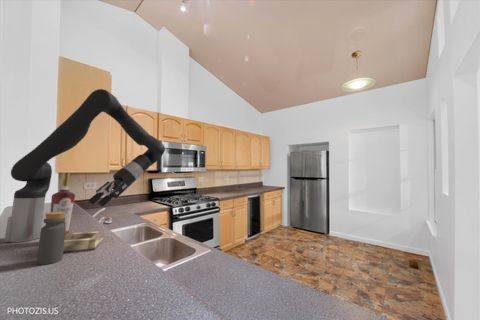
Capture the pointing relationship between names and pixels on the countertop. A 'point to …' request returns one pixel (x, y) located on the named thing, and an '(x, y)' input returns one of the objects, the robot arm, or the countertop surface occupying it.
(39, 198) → the robot arm
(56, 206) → the liquor
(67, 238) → the wooden tray
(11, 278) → the countertop surface
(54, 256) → the bottle
